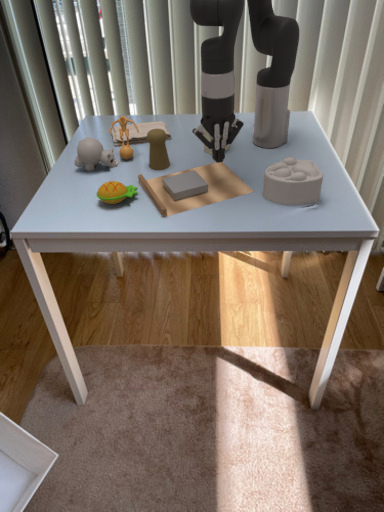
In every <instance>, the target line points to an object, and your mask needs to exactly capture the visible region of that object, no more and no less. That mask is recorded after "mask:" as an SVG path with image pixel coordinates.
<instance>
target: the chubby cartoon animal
mask: <svg viewBox="0 0 384 512" xmlns="http://www.w3.org/2000/svg"><path fill="white" fill-rule="evenodd" d="M114 150H115V149H114V148H111V149H110V150H109V149H107V150H106V149H104V146H103V144H102V142H101V141H99V139H97V138H95V137H85V138H83V139H82V140H79V141H78V144H77V146H76V154H77V155H76V157H75V159H74V166H76V167H77V168H83V167H84V168H85V170H86V171H88V172H93V171H95V169H96V168H95V167H96V166H98V164H99V163H101V164H102V165H103V166H107V167H108V168H109V169H112V168H116V167H118V166H119V164H120V159H118V160H117V159H116V158H115V154H114Z"/></svg>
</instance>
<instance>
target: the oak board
mask: <svg viewBox="0 0 384 512" xmlns="http://www.w3.org/2000/svg"><path fill="white" fill-rule="evenodd" d="M194 170H195V171H196V172H197V173H198V174H199V175H200V176H201V177H202V178H203V179H204V181H205V182H206V183H207V184H208V192H204V193H200V194H197V195H193V196H189V197H186V198H182V199H178V200H175V201H174V199H173V198H172V197H171V195H170V194H169V193H168V191H167V190H166V189H165V188H164V186H163V182H162V178H166V177H170V176H174V175H178V174H182V173H186V172H190V171H194ZM137 179H138V183H139V184H140V187H142V189H143V190H144V192H145V193H146V195H147V196H148V198H149V199H150V200H151V202H152V203H153V204H154V206H155V208H156V209H157V211H158V212H159V214H160V216H161V217H162V218H166V217H169V216H174V215H178V214H180V213H184V212H188V211H191V210H194V209H198V208H202V207H205V206H209V205H212V204H216V203H219V202H223V201H227V200H230V199H234V198H237V197H240V196H245V195H248V194H251V193H254V192H255V191H254V189H252V188H251V187H250V186H249V185H248V184H246V182H244V180H242V179H241V178H240V177H239V175H237V174H236V173H235V172H233V170H232V169H231V168H229V166H227V165H226V164H225V162H224V161H223V162H220V163H217V162H216V161H215V162H212V163H209V164H205V165H202V166H201V165H200V166H197V167H193V168H189V169H185V170H180V171H176V172H174V173H173V172H172V173H168V174H165V175H162V176H157V177H154V178H153V177H152V178H148V179H146V178H145V177H144V176H143V174H141V173H139V174H138V175H137Z"/></svg>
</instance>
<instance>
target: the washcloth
mask: <svg viewBox="0 0 384 512" xmlns="http://www.w3.org/2000/svg"><path fill="white" fill-rule="evenodd" d="M135 124H136V126H137V128H138V130H139V133H137V129H136V128H135V126H134V124H133V123H132V124H127V126H126V129H127V128H128V129H129V137H128V138H129V146H134V145H142V144H150V143H149V142H148V140H147V133H148V132H149V131H150V130H152V129H162V130H164V131H165V133H166V135H167V138H166V141H169V140H170V139H171V138H172V134H171V133H170V132H169V130H168V128H167V125H166V123H165V122H164V121H159V120H158V121H151V122H140V123H135ZM119 129H122V128H121V126H120V125H116V126H113V128H112V130H111V135H112V138H113V140H112V141H113V144H114V146H116V147H122V140H121V138H120V131H119ZM122 138H123V140H124V145H127V137H126V135H125V132H123V136H122Z"/></svg>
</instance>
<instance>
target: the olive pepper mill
mask: <svg viewBox="0 0 384 512" xmlns="http://www.w3.org/2000/svg"><path fill="white" fill-rule="evenodd" d="M166 138H167V135H166V133H165V131H164V130H162V129H152V130H150V131H149V132H148V133H147V140H148V142H149V143H148V144H149V154H148V155H149V159H148V164H149V165H148V166H149V168H150V170H151V171H152V170H153V171H165V170H167V169H168V168H169V167H170V166H171V162H170V158H169V153H168V149H167V145H166V141H167V140H166Z"/></svg>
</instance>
